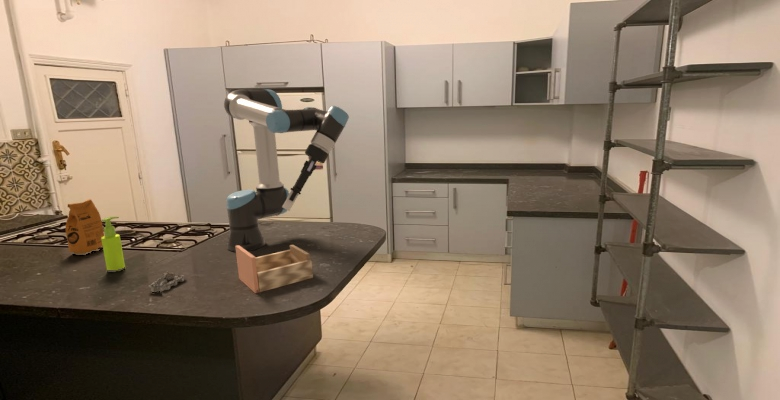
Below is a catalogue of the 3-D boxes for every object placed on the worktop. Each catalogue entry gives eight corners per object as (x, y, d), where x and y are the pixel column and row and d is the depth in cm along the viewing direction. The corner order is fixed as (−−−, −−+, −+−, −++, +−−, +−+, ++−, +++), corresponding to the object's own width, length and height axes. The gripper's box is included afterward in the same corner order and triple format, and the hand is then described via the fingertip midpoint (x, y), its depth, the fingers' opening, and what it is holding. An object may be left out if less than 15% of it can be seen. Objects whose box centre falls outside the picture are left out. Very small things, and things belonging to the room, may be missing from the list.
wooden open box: (293, 267, 162) (291, 243, 160) (313, 280, 149) (310, 254, 147) (243, 280, 152) (240, 254, 150) (260, 295, 139) (257, 267, 137)
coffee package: (65, 255, 188) (55, 204, 183) (92, 246, 200) (83, 198, 195) (83, 257, 185) (73, 205, 181) (110, 247, 197) (101, 198, 192)
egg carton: (170, 281, 155) (168, 270, 154) (188, 282, 153) (187, 271, 152) (146, 293, 145) (144, 281, 144) (166, 295, 143) (164, 283, 142)
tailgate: (242, 277, 152) (238, 245, 149) (259, 292, 139) (255, 256, 136) (239, 278, 151) (235, 245, 148) (255, 293, 138) (251, 257, 136)
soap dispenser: (131, 267, 170) (122, 215, 166) (115, 273, 164) (105, 220, 160) (120, 265, 172) (111, 215, 168) (103, 272, 166) (93, 219, 162)
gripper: (331, 152, 149) (296, 215, 146) (326, 155, 161) (294, 213, 159) (311, 141, 147) (275, 204, 145) (308, 144, 160) (275, 203, 157)
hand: (285, 208), depth 152 cm, fingers closed
